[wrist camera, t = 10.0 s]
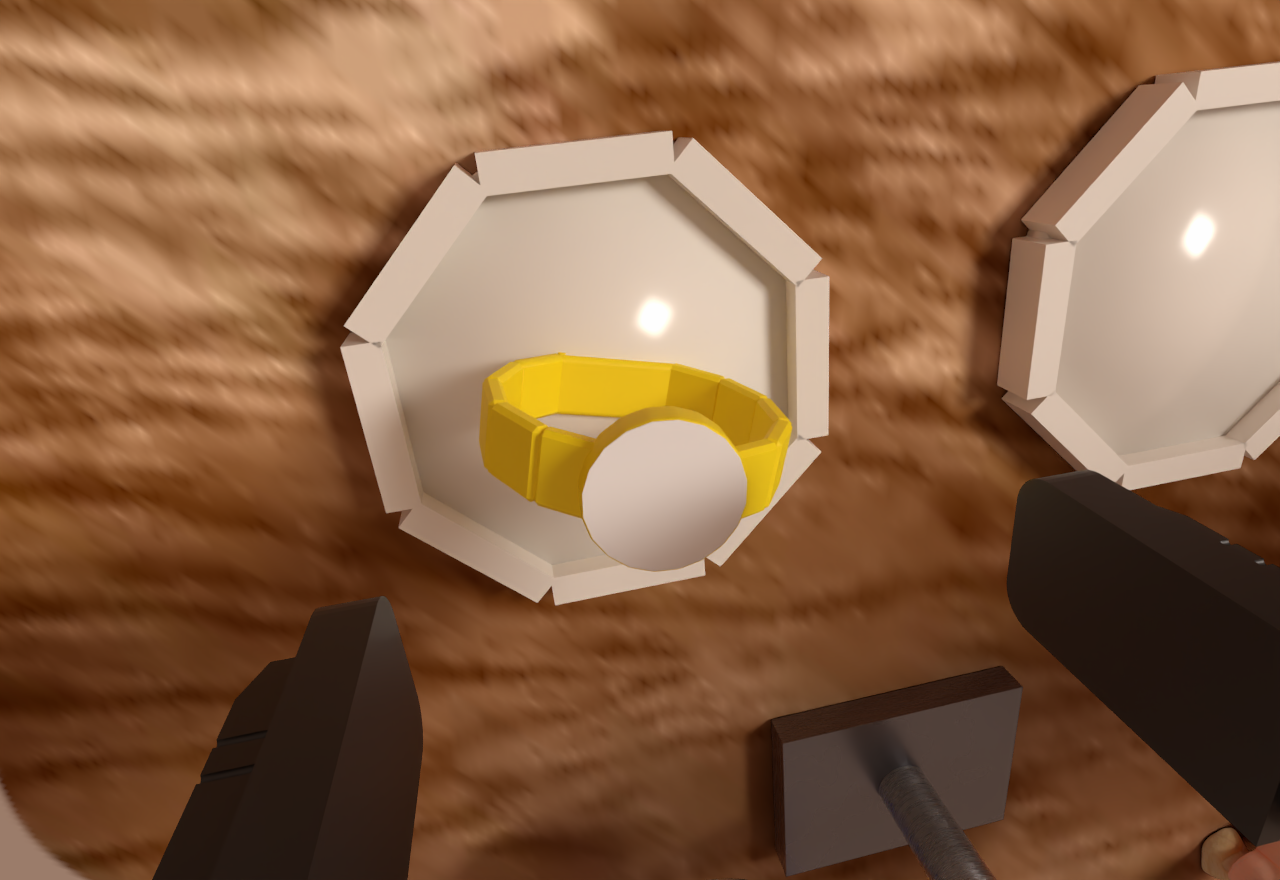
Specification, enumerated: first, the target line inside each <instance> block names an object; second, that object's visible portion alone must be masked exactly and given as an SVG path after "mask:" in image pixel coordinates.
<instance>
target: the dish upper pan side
mask: <svg viewBox="0 0 1280 880" xmlns="http://www.w3.org/2000/svg"><path fill="white" fill-rule="evenodd" d="M1021 221H1022V222H1023V223H1024V224H1025V225H1026V226H1027V228H1028V229H1029V231H1028V233H1027V236H1024V237H1017V238H1013V239H1012V249H1011V258H1010V268H1009V277H1008V286H1007V296H1006V305H1005V315H1004V324H1003V334H1002V343H1001V352H1000V362H999V371H998V381H997V385H998V386H1000V387H1002V388H1004V389H1006V390H1008V392H1007V393H1006V394H1005V395H1004V396H1003V397H1002V398H1001V399H1002V400H1003V401H1004V402H1005V403H1006V404H1007V405H1008V406H1009V407H1010V408H1012V409H1013V410H1014V411H1015V412H1016V413H1017V414H1018V415H1019V416H1020V417H1021V418H1022V419H1023V420H1024V421H1025V422H1026V423H1027V424H1028V425H1029V426H1030V427H1031V428H1032V429H1033V430H1034V431H1036V432H1037V433H1038V434H1039V435H1040V436H1041V437H1042V438H1043V439H1044V440H1045V441H1046V442H1047V443H1048V444H1049V445H1050V446H1051V447H1052V448H1053V449H1054V450H1055V451H1056V452H1057V453H1058V454H1060V455H1061V456H1062V457H1063V458H1064V459H1065V460H1066V461H1067V462H1068V463H1069V464H1070V465H1071V466H1072V467H1073V468H1074V469H1075V470H1076V471H1081V470H1092V471H1095V472H1097V473H1100V474H1101V475H1103V476H1105V477H1107V478H1108V479H1110V480H1112V481H1114V482H1116V483H1117V484H1119V485H1121V486H1123V487H1124V488H1126V489H1128V490H1133V489H1138V488H1143V487H1148V486H1153V485H1158V484H1163V483H1168V482H1173V481H1178V480H1183V479H1188V478H1193V477H1198V476H1203V475H1208V474H1213V473H1218V472H1223V471H1228V470H1233V469H1238V468H1241V465H1242V461H1243V457H1244V456H1246V457H1248V458H1251V459H1253V460H1255V459H1256V458H1257V457H1258V456H1259V455H1260V454H1261V453H1262V452H1264V451H1265V450H1266V449H1267V448H1268V447H1269V446H1270V445H1271V444H1272V443H1273V442H1274V441H1275V440H1276V439H1277V438H1278V437H1279V436H1280V61H1279V62H1270V63H1261V64H1253V65H1244V66H1235V67H1226V68H1217V69H1208V70H1199V71H1190V72H1181V73H1172V74H1163V75H1156V79H1155V84H1149V85H1139V86H1138V87H1137V88H1136V89H1135V91H1134V92H1133V93H1132V94H1131V95H1130V96H1129V97H1128V98H1127V100H1126V101H1125V102H1124V103H1123V104H1122V105H1121V106H1120V108H1119V109H1118V110H1117V111H1116V112H1115V113H1114V114H1113V116H1112V117H1111V118H1110V119H1109V120H1108V121H1107V122H1106V124H1105V125H1104V126H1103V127H1102V128H1101V129H1100V130H1099V131H1098V133H1097V134H1096V135H1095V136H1094V137H1093V138H1092V139H1091V141H1090V142H1089V143H1088V144H1087V145H1086V146H1085V147H1084V149H1083V150H1082V151H1081V152H1080V153H1079V154H1078V155H1077V157H1076V158H1075V159H1074V160H1073V161H1072V162H1071V163H1070V164H1069V166H1068V167H1067V168H1066V169H1065V170H1064V171H1063V172H1062V174H1061V175H1060V176H1059V177H1058V178H1057V179H1056V180H1055V182H1054V183H1053V184H1052V185H1051V186H1050V187H1049V188H1048V189H1047V191H1046V192H1045V193H1044V194H1043V195H1042V196H1041V197H1040V199H1039V200H1038V201H1037V202H1036V203H1035V204H1034V205H1033V207H1032V208H1031V209H1030V210H1029V211H1028V212H1027V213H1026V215H1025V216H1024V217H1023V218H1022V219H1021Z"/></svg>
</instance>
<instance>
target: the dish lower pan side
mask: <svg viewBox="0 0 1280 880" xmlns="http://www.w3.org/2000/svg"><path fill="white" fill-rule="evenodd" d="M475 159H476V164H477V170H478V171H477V172H475V173H474V174H473V175H471V174H470V173H469V172H468V171H466V170H465V169H464V168H462V167H461V166H460V165H459V164H457V163H456V164H455V165H454V166H453V168H452V169H451V171H450V172H449V174H448V175H447V176H446V178H445V179H444V181H443V182H442V184H441V185H440V187H439V188H438V189H437V191H436V192H435V194H434V195H433V197H432V198H431V200H430V201H429V203H428V204H427V205H426V207H425V208H424V210H423V211H422V213H421V214H420V216H419V217H418V219H417V220H416V221H415V223H414V224H413V226H412V227H411V229H410V230H409V232H408V233H407V235H406V236H405V237H404V239H403V240H402V242H401V243H400V245H399V246H398V248H397V249H396V251H395V252H394V253H393V255H392V256H391V258H390V259H389V261H388V262H387V264H386V265H385V267H384V268H383V269H382V271H381V272H380V274H379V275H378V277H377V278H376V280H375V281H374V283H373V284H372V285H371V287H370V288H369V290H368V291H367V293H366V294H365V296H364V297H363V299H362V300H361V301H360V303H359V304H358V306H357V307H356V309H355V310H354V312H353V313H352V315H351V316H350V317H349V319H348V320H347V322H346V323H345V325H344V327H346V328H348V329H349V330H351V331H352V332H351V333H349V335H348V336H347V338H346V339H345V341H344V342H343V344H342V345H341V347H340V348H341V352H342V355H343V359H344V363H345V366H346V370H347V373H348V377H349V381H350V384H351V388H352V392H353V395H354V399H355V402H356V406H357V410H358V413H359V417H360V420H361V424H362V428H363V431H364V435H365V439H366V442H367V446H368V449H369V453H370V457H371V460H372V464H373V468H374V471H375V475H376V478H377V482H378V486H379V489H380V493H381V497H382V500H383V504H384V507H385V511H386V513H391V512H397V511H402V513H401V518H400V523H399V527H398V528H399V529H401V530H403V531H405V532H407V533H409V534H410V535H412V536H414V537H416V538H418V539H420V540H422V541H423V542H425V543H427V544H429V545H431V546H433V547H435V548H436V549H438V550H440V551H442V552H444V553H446V554H448V555H449V556H451V557H453V558H455V559H457V560H459V561H461V562H462V563H464V564H466V565H468V566H470V567H472V568H474V569H475V570H477V571H479V572H481V573H483V574H485V575H487V576H488V577H490V578H492V579H494V580H496V581H498V582H500V583H501V584H503V585H505V586H507V587H509V588H511V589H513V590H514V591H516V592H518V593H520V594H522V595H524V596H526V597H527V598H529V599H531V600H533V601H535V602H537V603H538V602H539V600H540V599H541V598H542V597H543V596H544V594H545V593H546V592H547V591H548V590H549V588H550V587H551V586H552V590H553V596H554V601H555V605H559V604H564V603H569V602H574V601H579V600H584V599H589V598H594V597H599V596H604V595H609V594H614V593H619V592H624V591H629V590H634V589H639V588H644V587H649V586H654V585H659V584H664V583H669V582H674V581H679V580H684V579H689V578H694V577H699V576H704V575H705V564H704V559H703V560H701V561H699V562H696V563H694V564H691V565H689V566H686V567H684V568H681V569H677V570H668V571H658V572H651V571H646V570H640V569H634V568H630V567H627V566H625V565H623V564H621V563H619V562H617V561H615V560H614V559H612V558H610V557H608V556H607V555H606V554H605V553H604V552H603V551H602V550H601V549H600V548H599V547H598V546H597V545H596V544H595V543H594V542H593V541H592V539H591V538H590V536H589V534H588V531H587V529H586V527H585V525H584V522H583V520H582V519H581V518H578V517H574V516H571V515H568V514H564V513H561V512H558V511H554V510H551V509H548V508H544V507H541V506H538V505H537V504H536V502H535V501H533V502H530V501H528V500H527V499H525V498H524V497H522V496H521V495H520V494H518V493H517V492H515V491H514V490H512V489H511V488H510V487H508V486H507V485H505V484H504V483H503V482H501V481H500V480H498V479H497V478H495V477H494V476H493V475H491V474H490V473H489V472H488V470H487V469H486V468H485V467H484V464H483V459H482V454H481V449H480V444H479V431H480V415H481V399H482V383H483V382H484V380H485V379H486V378H487V377H488V376H490V375H491V374H493V373H494V372H496V371H497V370H499V369H500V368H502V367H503V366H505V365H507V364H508V363H510V362H514V361H515V360H519V359H525V358H531V357H537V356H543V355H549V354H555V353H556V354H558V352H562V353H566V354H565V355H570V356H583V357H596V358H609V359H621V360H634V361H647V362H660V363H672V364H675V363H678V364H681V365H685V366H689V367H692V368H696V369H699V370H703V371H707V372H710V373H714V374H718V375H721V376H724V378H725V379H727V378H730V379H732V380H734V381H736V382H738V383H740V384H743V385H745V386H747V387H749V388H751V389H753V390H755V391H757V392H759V393H761V394H763V395H765V396H767V398H769V399H771V400H772V401H773V402H774V403H775V404H776V406H777V407H778V408H779V409H780V410H781V411H782V412H783V413H784V415H785V416H786V417H787V418H788V419H789V421H790V422H791V423H792V424H791V426H792V431H791V436H790V440H789V445H788V449H787V453H786V458H785V462H784V466H783V471H782V475H781V480H780V484H779V486H778V488H777V490H776V492H775V494H774V496H773V498H772V501H771V503H770V505H769V507H767V508H765V509H764V510H763V511H761V512H759V513H756V514H753V515H750V516H748V517H745V518H742V519H741V521H740V523H739V525H738V527H737V528H736V529H735V531H734V532H733V533H732V534H731V536H730V537H729V538H728V540H727V541H726V542H725V543H724V544H723V545H722V546H721V547H720V548H719V549H717V550H716V551H714V552H713V553H712V554H710V555H709V556H708V557H706V558H708V559H710V560H711V561H713V562H714V563H716V564H717V565H719V566H721V565H722V564H723V563H724V562H725V561H726V560H727V559H728V557H729V556H730V555H731V554H732V553H733V552H734V551H735V550H736V548H737V547H738V546H739V545H740V544H741V543H742V542H743V540H744V539H745V538H746V537H747V536H748V535H749V534H750V532H751V531H752V530H753V529H754V528H755V527H756V526H757V525H758V523H759V522H760V521H761V520H762V519H763V518H764V517H765V515H766V514H767V513H768V512H769V511H770V510H771V509H772V507H773V506H774V505H775V504H776V503H777V502H778V501H779V500H780V498H781V497H782V496H783V495H784V494H785V493H786V492H787V490H788V489H789V488H790V487H791V486H792V485H793V484H794V482H795V481H796V480H797V479H798V478H799V477H800V476H801V475H802V473H803V472H804V471H805V470H806V469H807V468H808V467H809V465H810V464H811V463H812V462H813V461H814V460H815V459H816V457H817V456H818V455H819V454H820V453H821V451H820V450H819V449H818V448H817V447H816V446H815V445H814V444H813V443H812V442H811V441H810V440H809V438H815V437H820V436H826V435H828V400H829V276H827V275H825V274H823V273H820V272H818V271H815V270H813V269H814V268H815V266H816V265H817V264H818V263H819V261H820V260H821V259H822V258H821V257H820V256H819V255H818V254H817V253H816V252H815V251H814V250H813V249H811V248H810V247H809V246H808V245H807V244H806V243H805V242H804V241H803V240H802V239H801V238H800V237H799V236H798V235H796V234H795V233H794V232H793V231H792V230H791V229H790V228H789V227H788V226H787V225H786V224H785V223H784V222H783V221H781V220H780V219H779V218H778V217H777V216H776V215H775V214H774V213H773V212H772V211H771V210H770V209H769V208H768V207H766V206H765V205H764V204H763V203H762V202H761V201H760V200H759V199H758V198H757V197H756V196H755V195H754V194H753V193H751V192H750V191H749V190H748V189H747V188H746V187H745V186H744V185H743V184H742V183H741V182H740V181H739V180H738V179H736V178H735V177H734V176H733V175H732V174H731V173H730V172H729V171H728V170H727V169H726V168H725V167H724V166H723V165H721V164H720V163H719V162H718V161H717V160H716V159H715V158H714V157H713V156H712V155H711V154H710V153H709V152H708V151H706V150H705V149H704V148H703V147H702V146H701V145H700V144H699V143H698V142H697V141H696V140H695V139H694V138H678V139H677V140H676V142H675V143H674V144H673V137H672V131H654V132H645V133H636V134H628V135H619V136H610V137H601V138H592V139H583V140H574V141H565V142H556V143H547V144H538V145H529V146H520V147H511V148H503V149H494V150H485V151H476V152H475ZM618 419H620V418H618V417H601V416H584V415H567V414H554V415H550V416H546V417H543V418H539V419H537V420H539V421H541V422H542V423H544V424H546V425H547V426H548V427H550V426H551V427H554V428H558V429H562V430H566V431H569V432H573V433H577V434H581V435H585V436H588V437H592V438H597V437H598V435H599V434H600V433H601V432H603V431H604V430H605V429H606V428H608V427H609V426H610V425H612V424H613V423H614V422H615V421H617V420H618Z"/></svg>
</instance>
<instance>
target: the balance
mask: <svg viewBox="0 0 1280 880" xmlns="http://www.w3.org/2000/svg"><path fill="white" fill-rule="evenodd" d="M1022 689H1023V687H1022V686H1021V685H1020V684H1019V683H1018V682H1017V680H1016V679H1015V678H1014V677H1013V676H1012V675H1011V674H1010V673H1009V672H1008V671H1007V670H1006V669H1005V668H1004V667H1003V666H1001V667H997V668H992V669H988V670H984V671H979V672H975V673H971V674H966V675H962V676H958V677H953V678H949V679H945V680H940V681H936V682H932V683H927V684H923V685H919V686H914V687H910V688H906V689H901V690H897V691H893V692H889V693H884V694H880V695H876V696H871V697H867V698H863V699H858V700H854V701H850V702H845V703H841V704H837V705H832V706H828V707H824V708H819V709H815V710H811V711H806V712H802V713H798V714H794V715H789V716H785V717H781V718H776V719H772V720H771V731H772V760H773V789H774V818H775V847H776V852H777V855H778V857H779V860H780V862H781V865H782V867H783V869H784V872H785V874H786V877H787V876H790V875H794V874H798V873H802V872H806V871H809V870H813V869H817V868H821V867H825V866H828V865H832V864H836V863H840V862H844V861H847V860H851V859H855V858H859V857H863V856H866V855H870V854H874V853H878V852H882V851H885V850H889V849H893V848H897V847H901V846H904V845H909V846H910V848H911V850H912V851H913V853H914V855H915V856H916V858H917V860H918V861H919V863H920V865H921V866H922V868H923V870H924V871H925V873H926V875H927V876H928V878H929V880H996V878H995V877H994V875H993V874H992V873H991V871H990V870H989V868H988V867H987V865H986V864H985V862H984V861H983V859H982V858H981V857H980V855H979V854H978V852H977V851H976V849H975V848H974V846H973V845H972V843H971V842H970V840H969V839H968V838H967V836H966V835H965V833H964V832H963V830H965V829H969V828H973V827H976V826H980V825H984V824H988V823H992V822H995V821H999V820H1003V818H1004V811H1005V804H1006V798H1007V791H1008V784H1009V777H1010V771H1011V764H1012V757H1013V750H1014V743H1015V737H1016V730H1017V723H1018V716H1019V710H1020V703H1021V696H1022ZM710 880H745V879H733V878H727V879H710Z"/></svg>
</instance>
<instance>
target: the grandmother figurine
mask: <svg viewBox="0 0 1280 880" xmlns="http://www.w3.org/2000/svg"><path fill="white" fill-rule="evenodd" d="M1201 857H1202V859H1201V865H1202V869H1203V871H1204V872H1206V873H1207V874H1209V875H1211V876H1213V877H1215V878H1218V879H1221V880H1280V841H1277V842H1273V843H1269V844H1265V845H1262V846H1258V847H1256V848H1255V850H1253V851H1251V852H1249V850H1248V849H1247V848H1246V846H1245V844H1244V843H1243V841H1242V839H1241V837H1240V836H1239V834H1238V833H1237V831H1236V830H1235V829H1233V828H1223V829H1221V830H1220V831H1218V832H1216V833H1214V834H1213V835H1211V836H1210V837H1208V838H1207V840H1206V841H1205V842H1204V843H1203V846H1202V856H1201Z"/></svg>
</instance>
